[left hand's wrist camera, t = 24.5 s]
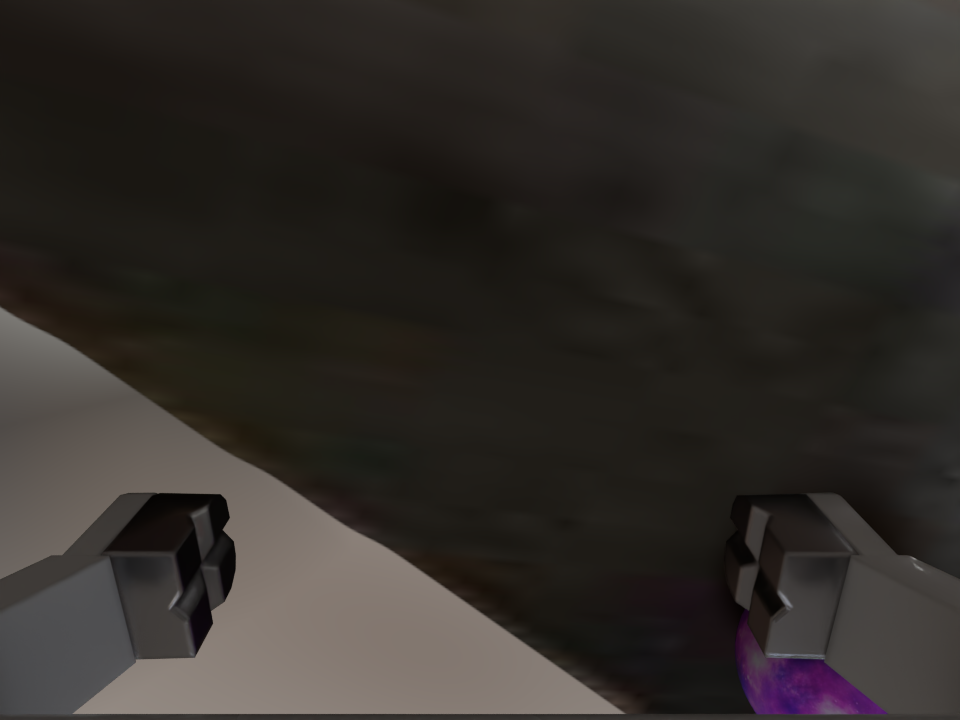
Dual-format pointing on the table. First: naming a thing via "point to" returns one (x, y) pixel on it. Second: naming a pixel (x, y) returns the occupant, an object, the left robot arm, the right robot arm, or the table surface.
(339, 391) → the table surface
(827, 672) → the decorative orb
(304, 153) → the table surface
